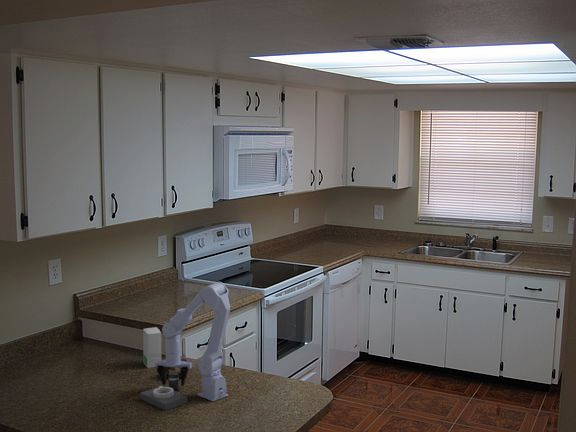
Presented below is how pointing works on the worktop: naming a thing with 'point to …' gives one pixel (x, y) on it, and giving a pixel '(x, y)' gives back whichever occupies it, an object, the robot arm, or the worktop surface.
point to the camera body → (163, 397)
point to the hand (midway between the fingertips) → (173, 384)
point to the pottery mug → (174, 367)
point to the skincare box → (151, 346)
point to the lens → (173, 381)
